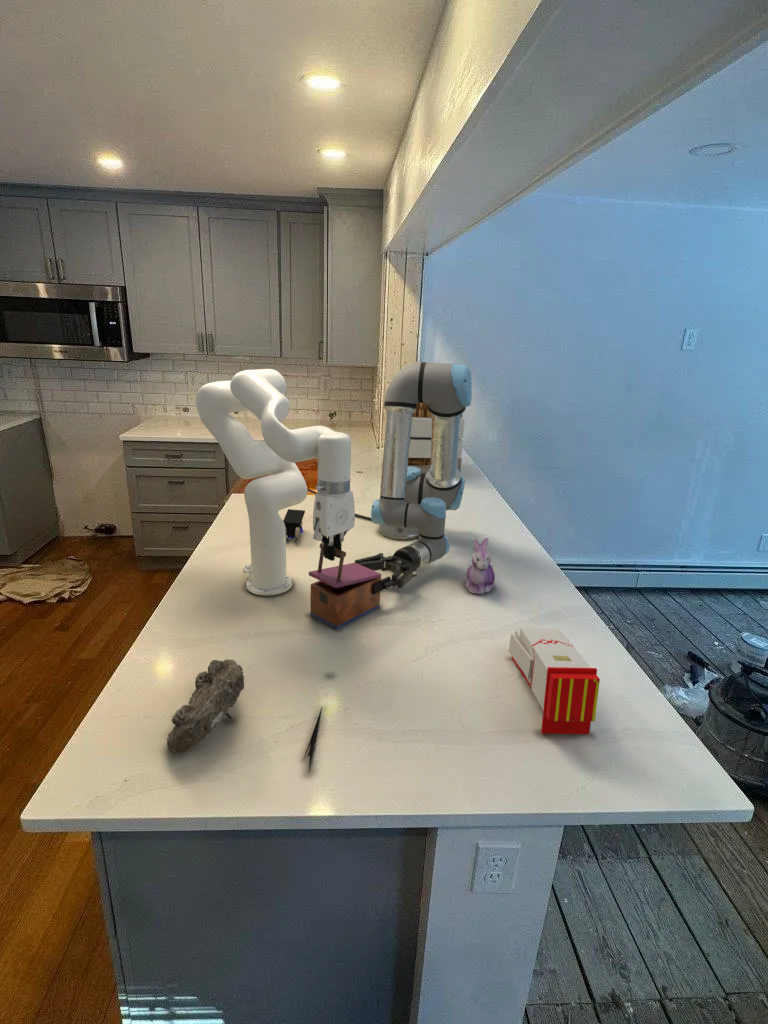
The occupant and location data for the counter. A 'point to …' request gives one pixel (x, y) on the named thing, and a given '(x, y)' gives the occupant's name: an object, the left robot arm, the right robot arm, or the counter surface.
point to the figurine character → (293, 523)
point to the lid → (342, 572)
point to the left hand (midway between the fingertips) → (332, 557)
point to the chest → (343, 602)
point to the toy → (557, 679)
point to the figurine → (480, 569)
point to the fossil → (206, 705)
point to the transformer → (426, 438)
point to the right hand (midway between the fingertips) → (358, 582)
